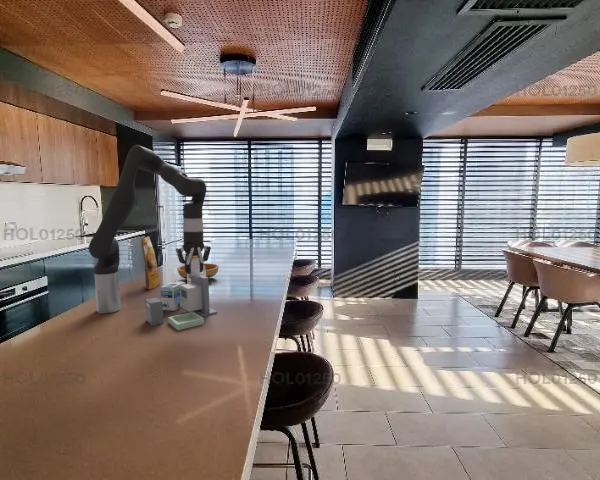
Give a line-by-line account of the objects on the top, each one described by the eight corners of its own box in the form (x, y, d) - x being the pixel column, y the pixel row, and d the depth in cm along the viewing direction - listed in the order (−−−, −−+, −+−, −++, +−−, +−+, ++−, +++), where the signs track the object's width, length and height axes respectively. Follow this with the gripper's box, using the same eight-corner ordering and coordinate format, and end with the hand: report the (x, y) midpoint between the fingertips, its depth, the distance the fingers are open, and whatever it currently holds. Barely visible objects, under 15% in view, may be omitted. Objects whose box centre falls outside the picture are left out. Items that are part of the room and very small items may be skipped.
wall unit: (191, 319, 145) (189, 281, 143) (177, 309, 158) (175, 274, 156) (217, 313, 153) (215, 277, 151) (201, 304, 165) (200, 270, 163)
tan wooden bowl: (180, 275, 225) (180, 263, 224) (219, 273, 230) (219, 261, 229) (174, 287, 196) (173, 273, 195) (219, 284, 201) (218, 271, 200)
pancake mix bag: (139, 290, 190) (136, 239, 186) (151, 282, 209) (148, 234, 205) (152, 290, 191) (149, 238, 187) (163, 281, 209) (160, 234, 206)
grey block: (151, 325, 139) (150, 303, 138) (146, 320, 144) (145, 299, 143) (163, 322, 142) (162, 301, 141) (157, 318, 147) (156, 297, 146)
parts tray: (177, 330, 134) (177, 324, 133) (168, 322, 142) (167, 317, 141) (204, 323, 140) (203, 318, 140) (193, 316, 148) (193, 311, 148)
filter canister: (191, 278, 137) (190, 256, 136) (186, 276, 141) (186, 254, 139) (202, 277, 140) (201, 255, 139) (197, 275, 143) (197, 253, 142)
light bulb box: (174, 311, 156) (173, 287, 155) (161, 310, 157) (159, 286, 156) (187, 303, 166) (186, 281, 165) (174, 303, 168) (172, 280, 166)
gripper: (206, 228, 145) (206, 269, 147) (171, 229, 136) (172, 273, 138) (214, 229, 139) (215, 272, 142) (178, 231, 130) (180, 277, 133)
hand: (194, 272), depth 140 cm, fingers closed on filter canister, 4 cm apart
